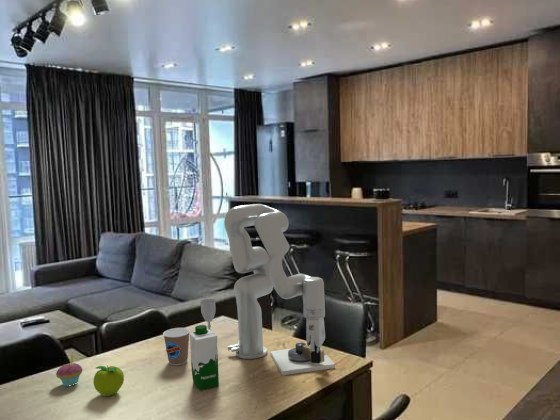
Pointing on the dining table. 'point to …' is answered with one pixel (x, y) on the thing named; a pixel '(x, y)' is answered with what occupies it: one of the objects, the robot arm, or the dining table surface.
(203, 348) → the milk carton
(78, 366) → the cupcake
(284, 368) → the base plate
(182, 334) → the coffee cup
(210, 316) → the chalice
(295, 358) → the cam dial
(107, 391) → the fruit
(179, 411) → the dining table surface
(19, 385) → the dining table surface
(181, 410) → the dining table surface
